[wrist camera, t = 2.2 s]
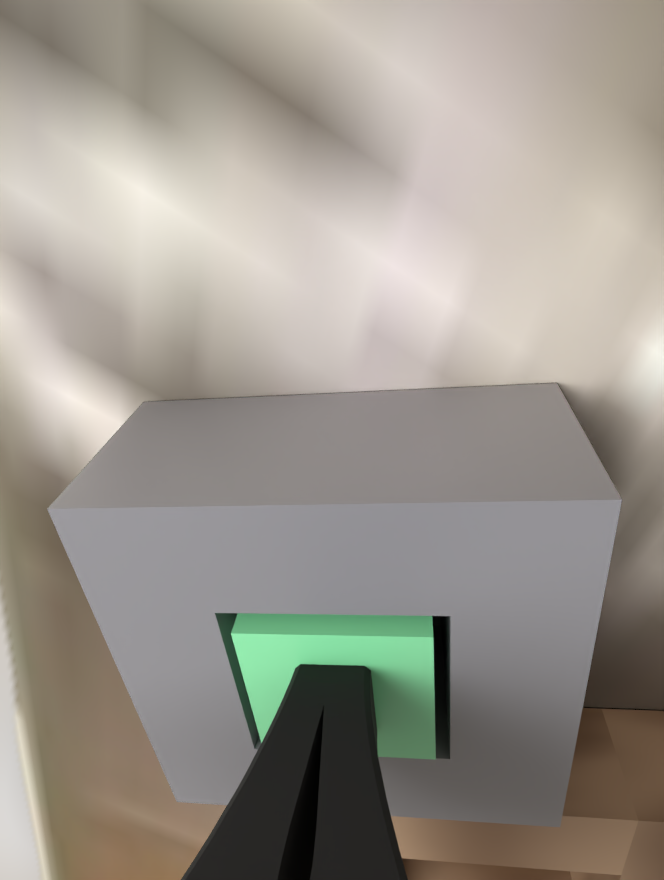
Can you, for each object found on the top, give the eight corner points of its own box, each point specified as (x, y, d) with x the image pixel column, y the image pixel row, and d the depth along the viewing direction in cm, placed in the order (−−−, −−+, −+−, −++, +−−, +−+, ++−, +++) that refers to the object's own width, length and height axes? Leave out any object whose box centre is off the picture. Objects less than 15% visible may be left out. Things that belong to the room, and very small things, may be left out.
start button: (427, 525, 12) (433, 637, 10) (430, 639, 14) (435, 759, 11) (266, 527, 13) (230, 633, 10) (288, 637, 14) (263, 750, 12)
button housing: (556, 383, 11) (622, 499, 8) (526, 672, 16) (559, 826, 12) (143, 401, 13) (47, 508, 9) (222, 663, 17) (176, 801, 14)
